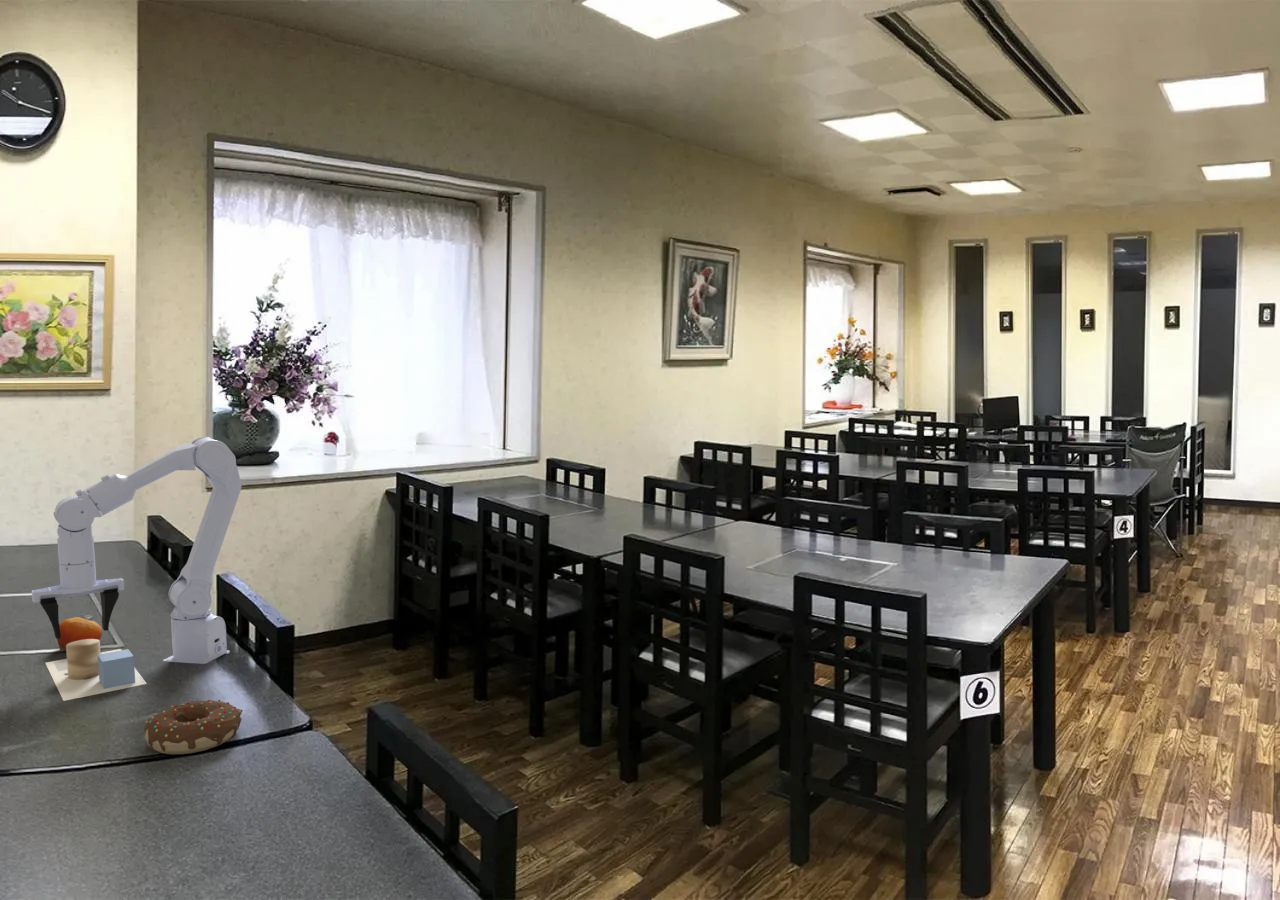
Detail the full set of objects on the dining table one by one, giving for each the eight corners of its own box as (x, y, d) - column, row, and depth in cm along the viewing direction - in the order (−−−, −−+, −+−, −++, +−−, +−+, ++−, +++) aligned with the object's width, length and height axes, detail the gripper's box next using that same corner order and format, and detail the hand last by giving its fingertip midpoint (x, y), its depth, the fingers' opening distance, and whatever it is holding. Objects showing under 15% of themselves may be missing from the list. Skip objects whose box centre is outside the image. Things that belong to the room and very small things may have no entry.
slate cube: (129, 674, 172) (128, 649, 171) (135, 682, 168) (133, 655, 167) (99, 681, 169) (97, 654, 168) (104, 688, 165) (102, 661, 164)
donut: (153, 768, 135) (151, 736, 135) (139, 737, 146) (137, 707, 146) (255, 744, 144) (253, 713, 143) (234, 716, 155) (233, 687, 154)
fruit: (38, 648, 184) (57, 610, 187) (74, 658, 191) (91, 621, 194) (62, 655, 181) (81, 615, 183) (97, 664, 187) (115, 626, 190)
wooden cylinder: (99, 667, 176) (97, 637, 175) (104, 675, 172) (102, 644, 171) (66, 673, 172) (64, 642, 172) (70, 681, 168) (68, 650, 168)
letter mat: (120, 651, 187) (120, 648, 187) (147, 686, 167) (146, 683, 167) (45, 665, 179) (45, 662, 179) (63, 704, 159) (63, 700, 159)
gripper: (117, 552, 177) (121, 621, 179) (27, 563, 168) (33, 635, 170) (124, 559, 172) (128, 629, 173) (32, 570, 163) (37, 645, 164)
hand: (81, 633), depth 171 cm, fingers open, 7 cm apart
